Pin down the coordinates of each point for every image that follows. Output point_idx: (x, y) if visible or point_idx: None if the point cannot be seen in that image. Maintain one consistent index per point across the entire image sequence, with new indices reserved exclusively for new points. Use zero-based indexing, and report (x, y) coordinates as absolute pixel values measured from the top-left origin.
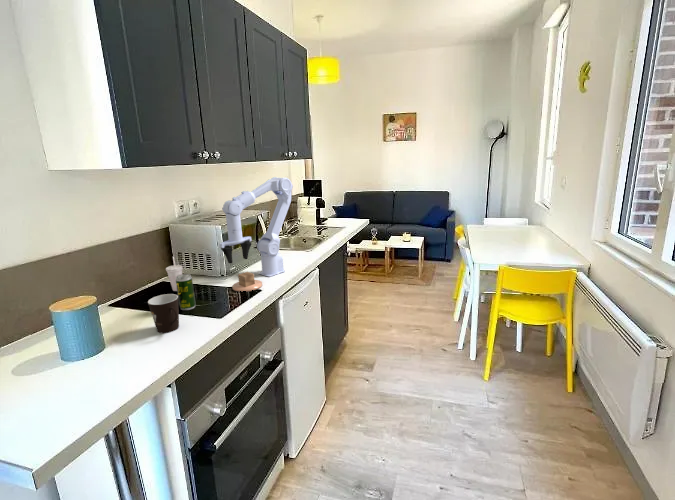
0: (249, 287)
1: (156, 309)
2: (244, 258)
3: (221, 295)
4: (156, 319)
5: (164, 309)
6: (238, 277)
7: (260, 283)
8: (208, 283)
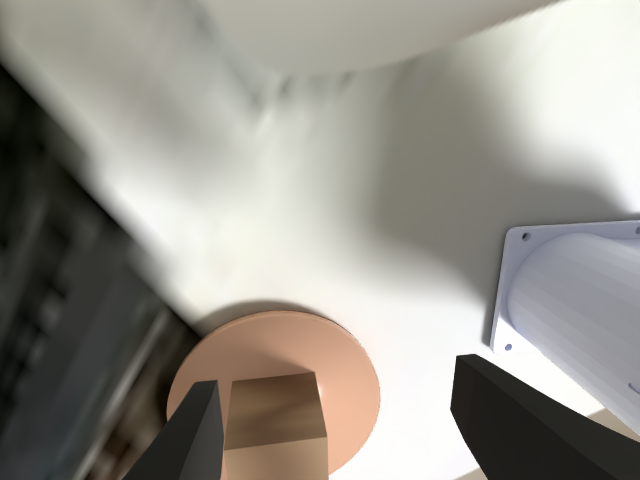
0: None
1: None
2: (455, 380)
3: (57, 414)
4: None
5: None
6: (226, 428)
7: (344, 452)
8: (80, 70)
